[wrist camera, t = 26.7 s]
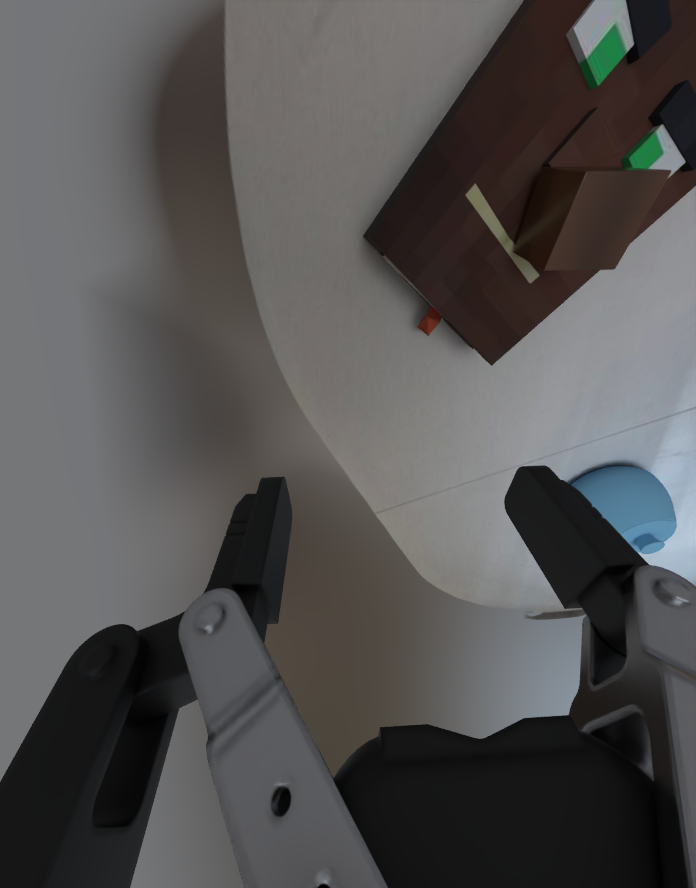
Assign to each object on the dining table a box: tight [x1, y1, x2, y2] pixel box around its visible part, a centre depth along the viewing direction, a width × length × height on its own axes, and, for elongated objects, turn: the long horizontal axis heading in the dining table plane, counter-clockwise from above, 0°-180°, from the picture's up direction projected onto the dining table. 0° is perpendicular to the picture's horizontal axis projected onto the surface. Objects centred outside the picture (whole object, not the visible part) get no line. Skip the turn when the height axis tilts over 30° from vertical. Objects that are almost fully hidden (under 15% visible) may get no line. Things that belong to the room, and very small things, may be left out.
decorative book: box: [363, 0, 696, 365], centre depth 23 cm, size 19×8×30 cm
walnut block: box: [513, 166, 671, 271], centre depth 20 cm, size 5×5×5 cm
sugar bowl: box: [571, 466, 676, 554], centre depth 47 cm, size 15×15×12 cm
